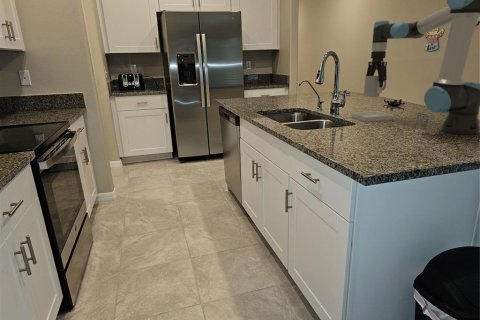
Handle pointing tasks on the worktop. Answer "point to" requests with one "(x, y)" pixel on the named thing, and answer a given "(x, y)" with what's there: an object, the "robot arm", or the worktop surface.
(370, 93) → the mug
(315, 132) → the worktop surface
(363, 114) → the tray
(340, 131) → the worktop surface
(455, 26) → the robot arm
